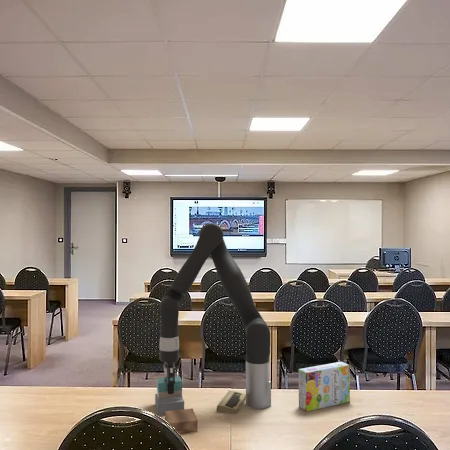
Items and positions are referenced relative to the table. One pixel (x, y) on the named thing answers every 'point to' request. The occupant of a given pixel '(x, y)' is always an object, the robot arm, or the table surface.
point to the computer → (231, 402)
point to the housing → (163, 389)
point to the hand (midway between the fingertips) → (169, 389)
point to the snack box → (324, 386)
